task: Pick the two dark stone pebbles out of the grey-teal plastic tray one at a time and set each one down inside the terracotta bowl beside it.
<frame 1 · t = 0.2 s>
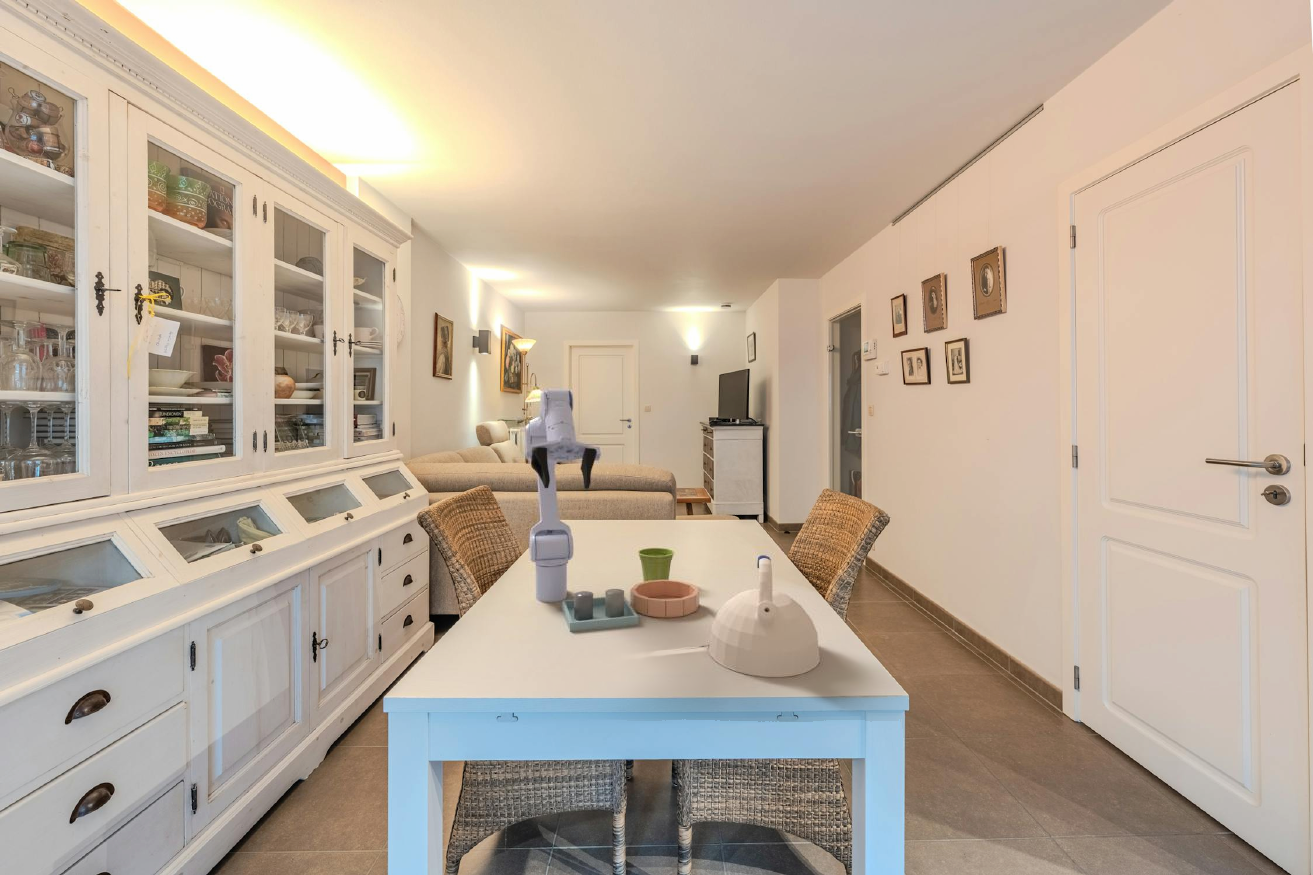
hand: (567, 485, 107), 31 cm above the table, tool tilted 45°, fingers open, 7 cm apart
kettle: (763, 654, 106), on the table
plant pot: (655, 585, 147), on the table
charcoal pebble: (583, 617, 122), point 1 cm above the table, touching parts tray
parts tray: (598, 619, 122), on the table
slate pebble: (614, 614, 123), point 1 cm above the table, touching parts tray
terracotta bowl: (664, 609, 129), on the table
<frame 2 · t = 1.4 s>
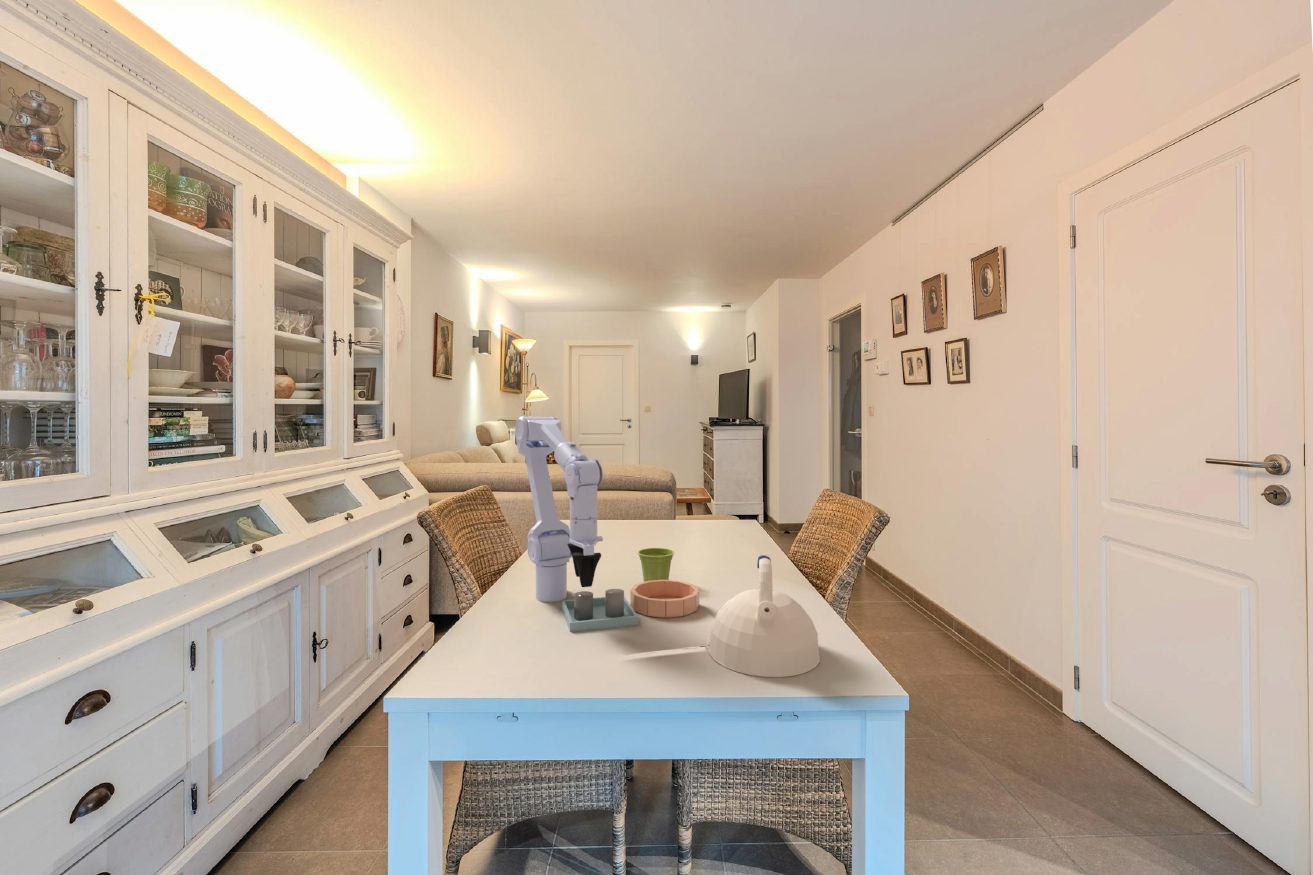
hand: (583, 581, 121), 9 cm above the table, tool pointing down, fingers open, 7 cm apart
nothing on the table moved.
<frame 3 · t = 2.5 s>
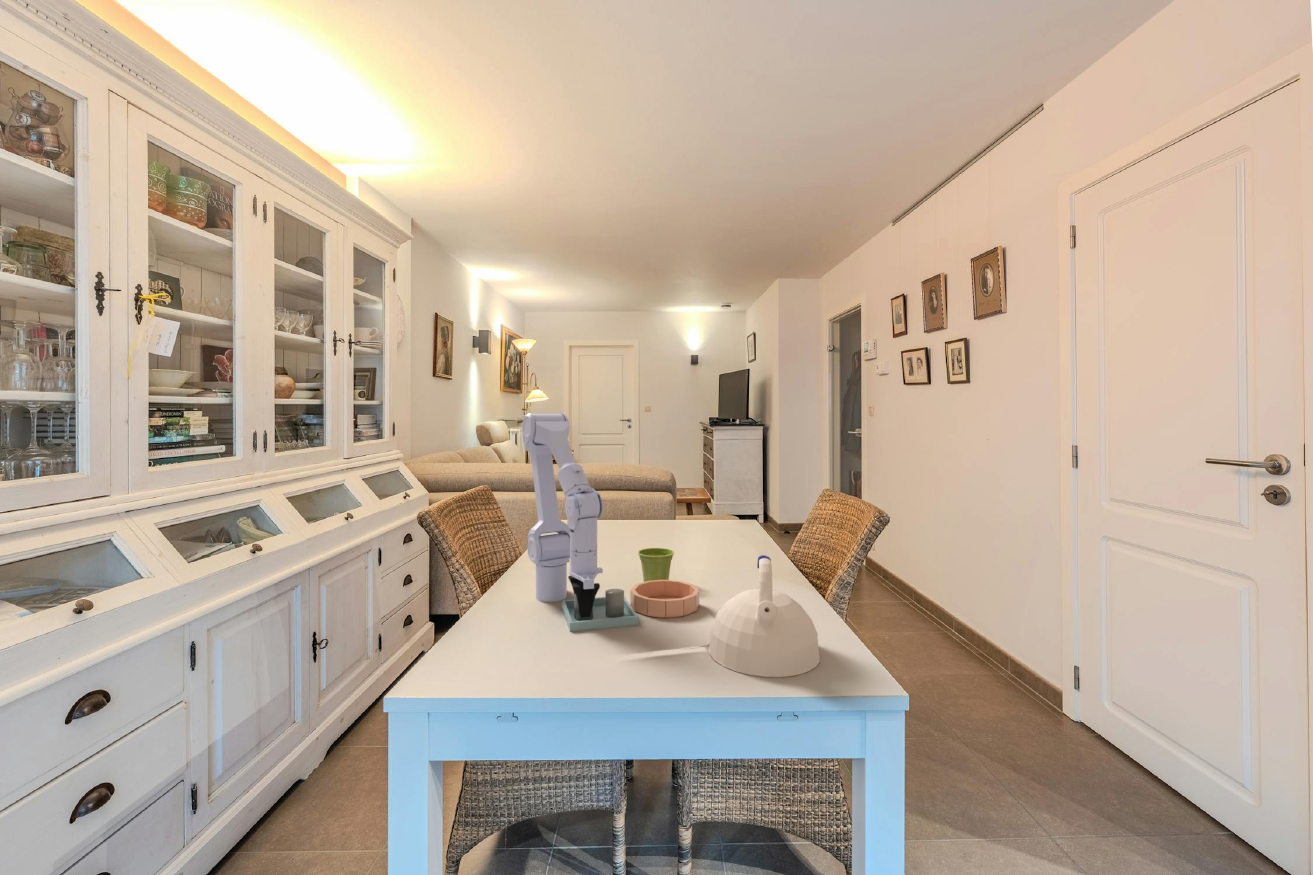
hand: (583, 612, 121), 2 cm above the table, tool pointing down, fingers closed on charcoal pebble, 4 cm apart
charcoal pebble: (583, 617, 122), point 1 cm above the table, touching gripper, parts tray
everything else where it was.
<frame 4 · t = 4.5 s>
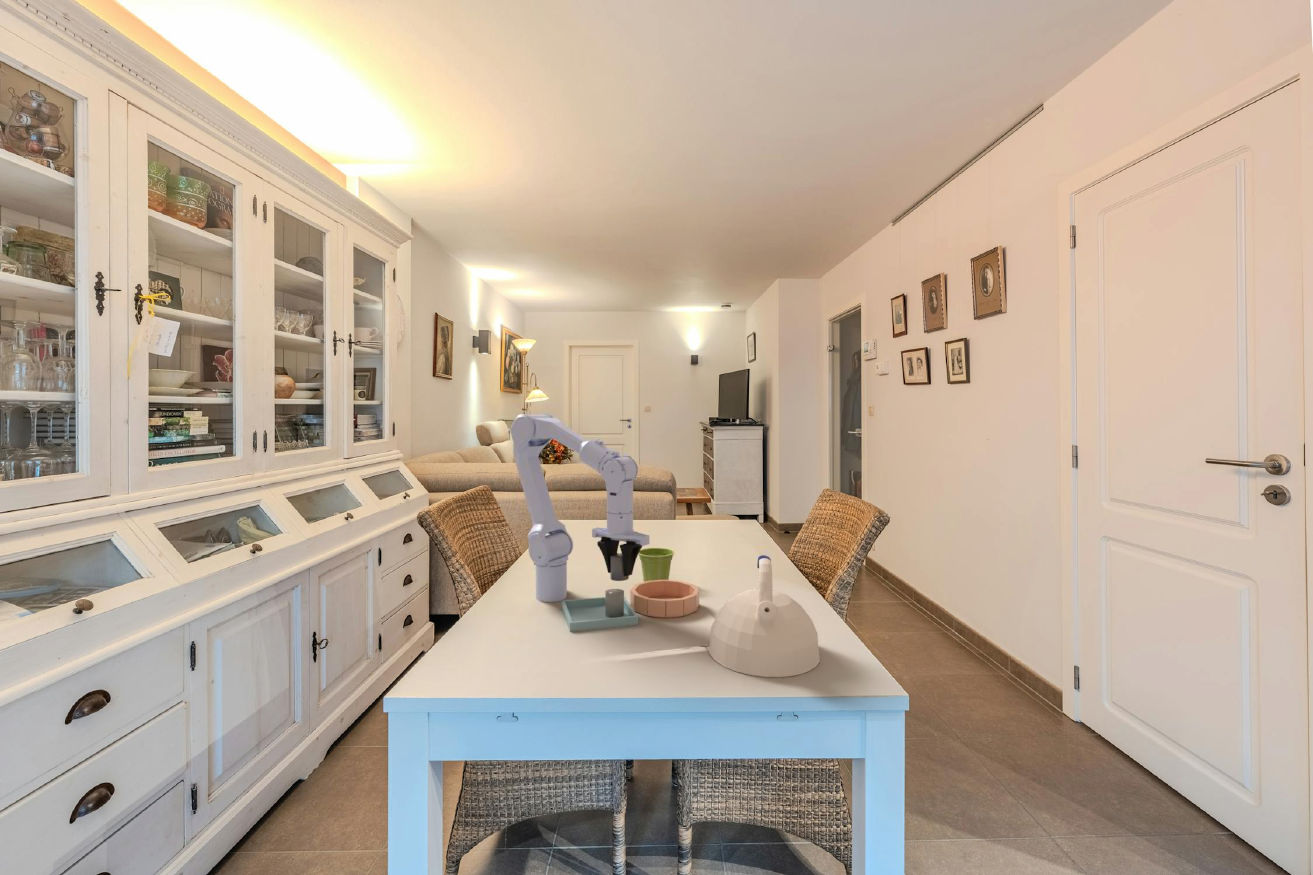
hand: (620, 573, 126), 9 cm above the table, tool pointing down, fingers closed on charcoal pebble, 4 cm apart
charcoal pebble: (619, 578, 126), point 8 cm above the table, touching gripper
everything else where it was.
when the fingers open (3 cm above the table, at t = 6.6 s): charcoal pebble drops 1 cm, resting on terracotta bowl.
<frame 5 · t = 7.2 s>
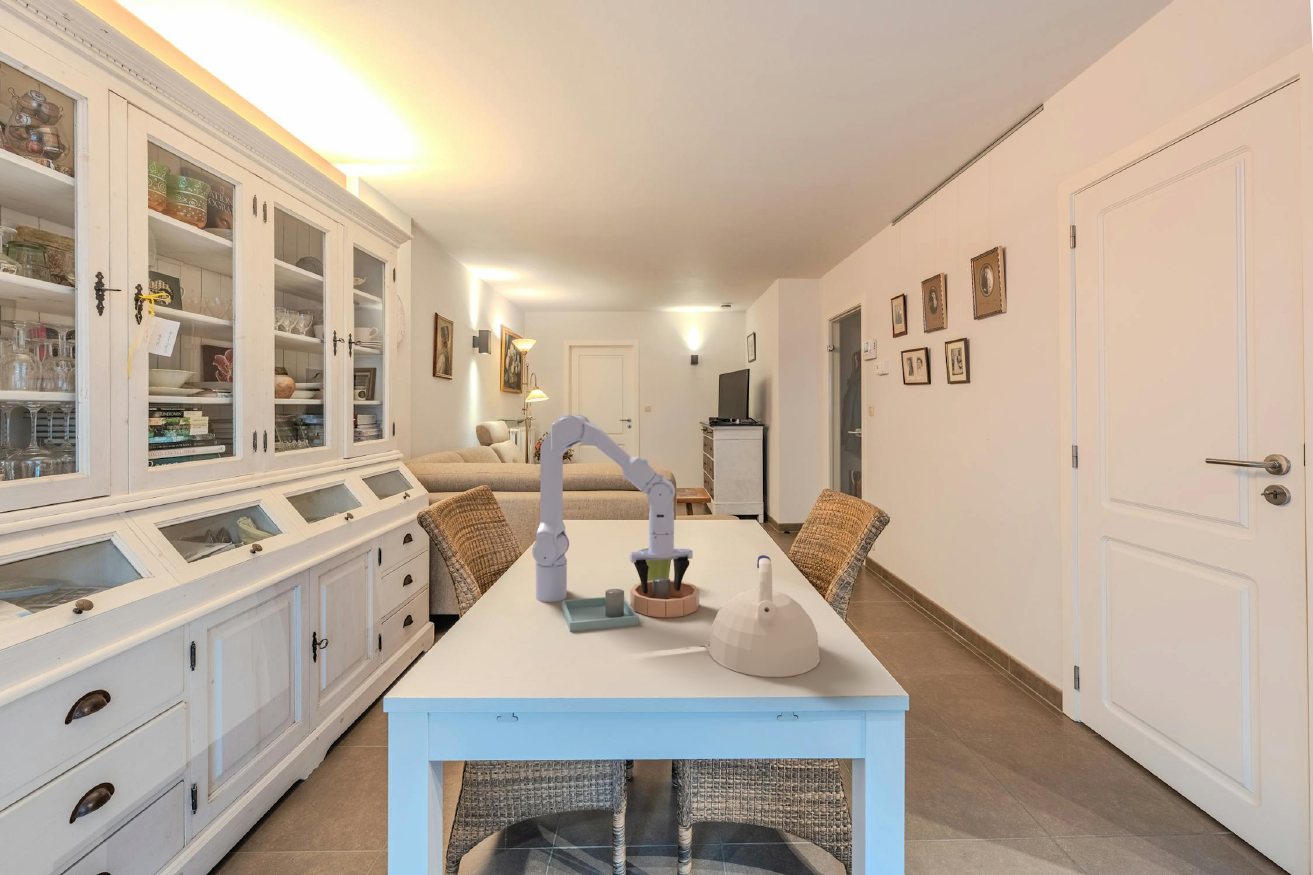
hand: (661, 590, 132), 3 cm above the table, tool pointing down, fingers open, 7 cm apart
charcoal pebble: (661, 600, 132), point 1 cm above the table, touching terracotta bowl
everything else where it was.
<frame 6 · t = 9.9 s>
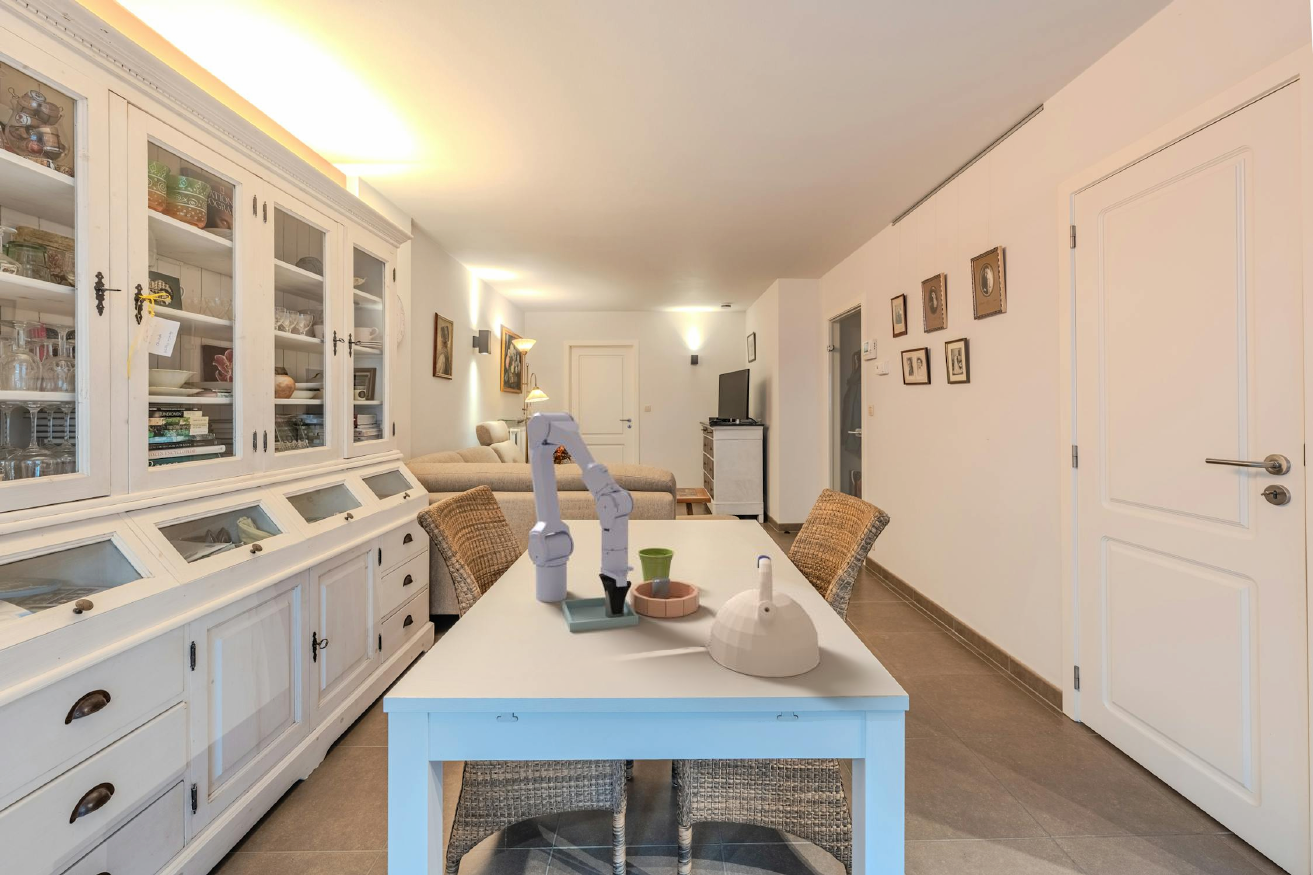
hand: (614, 609, 123), 2 cm above the table, tool pointing down, fingers closed on slate pebble, 4 cm apart
slate pebble: (614, 614, 123), point 1 cm above the table, touching gripper, parts tray
everything else where it was.
when the fingers open (3 cm above the table, at t = 13.4 s): slate pebble drops 1 cm, resting on terracotta bowl.
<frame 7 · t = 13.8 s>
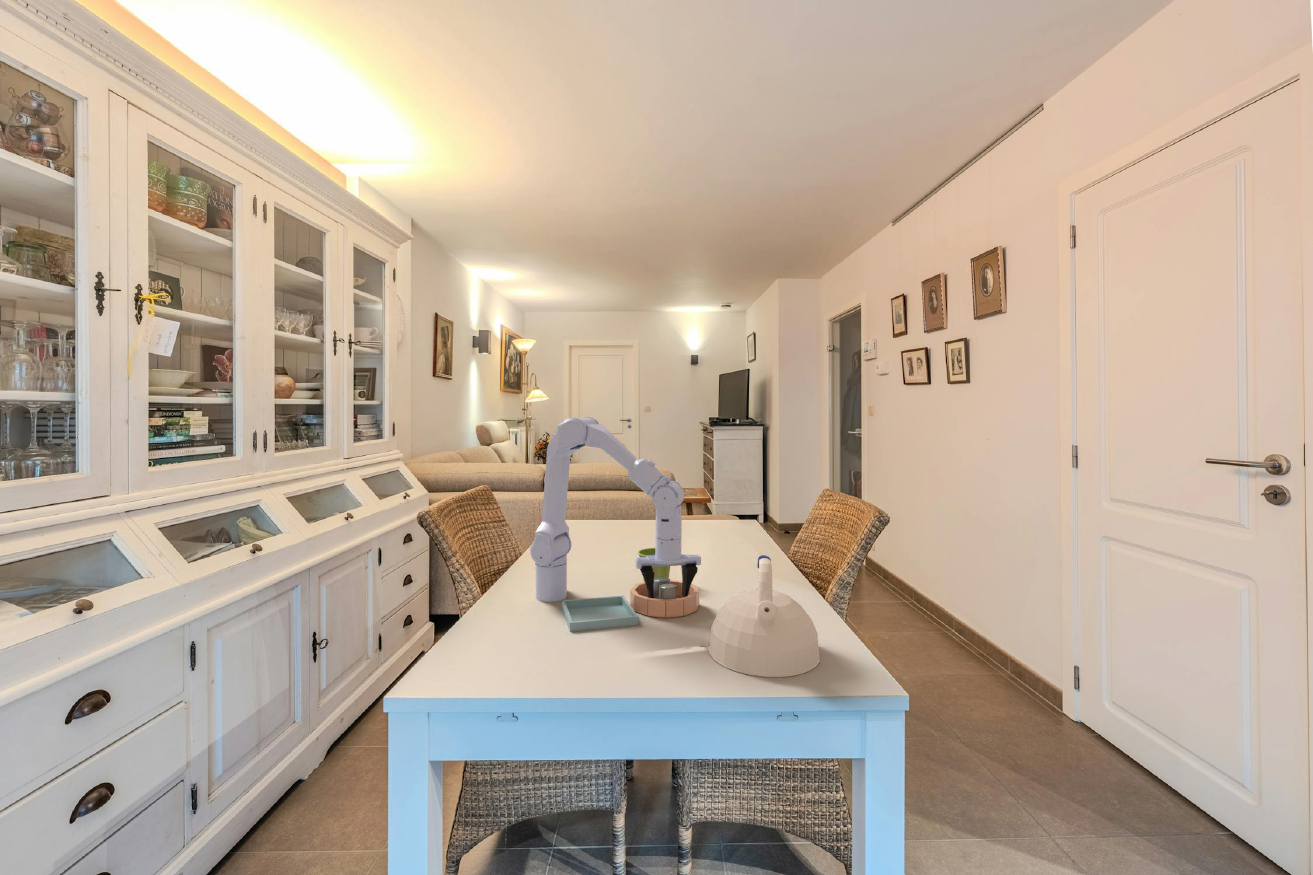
hand: (668, 598, 126), 3 cm above the table, tool pointing down, fingers open, 7 cm apart
slate pebble: (668, 608, 127), point 1 cm above the table, touching terracotta bowl
everything else where it was.
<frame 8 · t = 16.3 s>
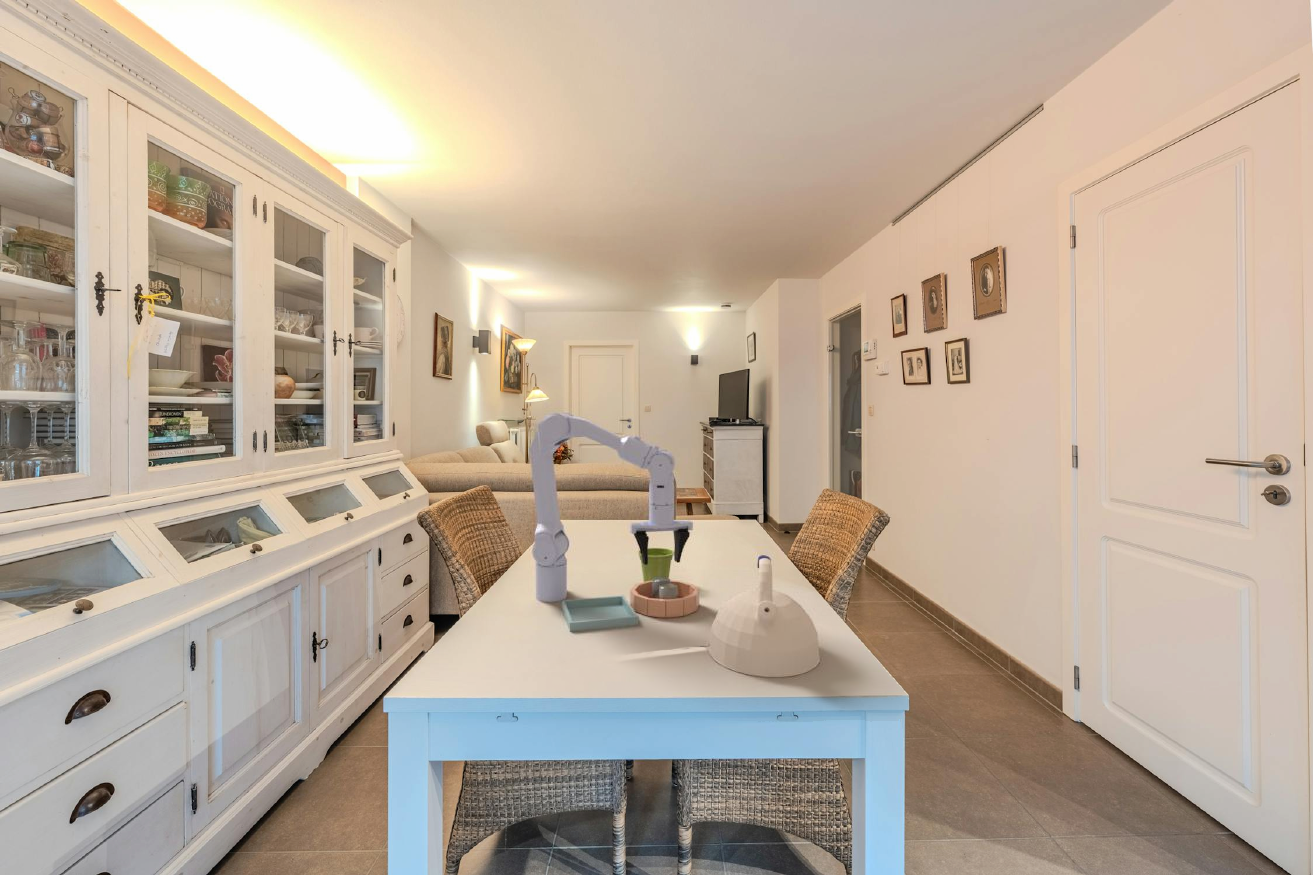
hand: (661, 562, 131), 10 cm above the table, tool pointing down, fingers open, 7 cm apart
nothing on the table moved.
at the end: charcoal pebble inside the target area on the terracotta bowl (2.8 cm from its centre), point 1.0 cm above the terracotta bowl's base; slate pebble inside the target area on the terracotta bowl (2.6 cm from its centre), point 1.0 cm above the terracotta bowl's base; the gripper is holding nothing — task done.
